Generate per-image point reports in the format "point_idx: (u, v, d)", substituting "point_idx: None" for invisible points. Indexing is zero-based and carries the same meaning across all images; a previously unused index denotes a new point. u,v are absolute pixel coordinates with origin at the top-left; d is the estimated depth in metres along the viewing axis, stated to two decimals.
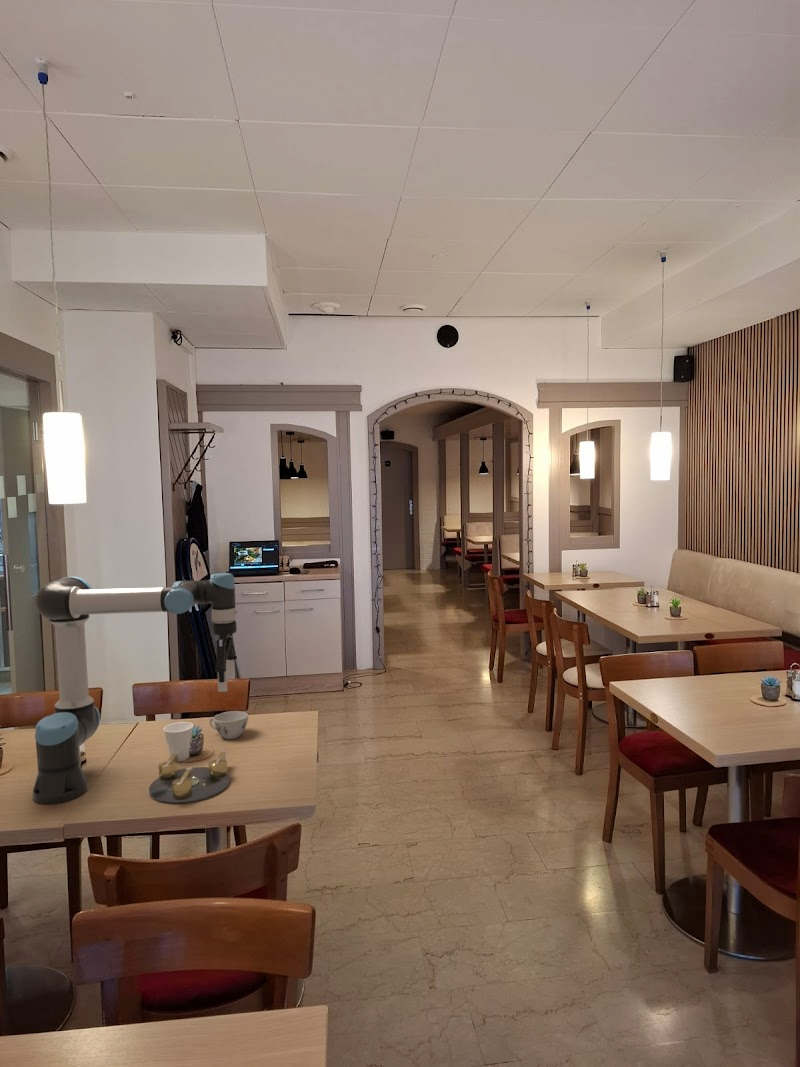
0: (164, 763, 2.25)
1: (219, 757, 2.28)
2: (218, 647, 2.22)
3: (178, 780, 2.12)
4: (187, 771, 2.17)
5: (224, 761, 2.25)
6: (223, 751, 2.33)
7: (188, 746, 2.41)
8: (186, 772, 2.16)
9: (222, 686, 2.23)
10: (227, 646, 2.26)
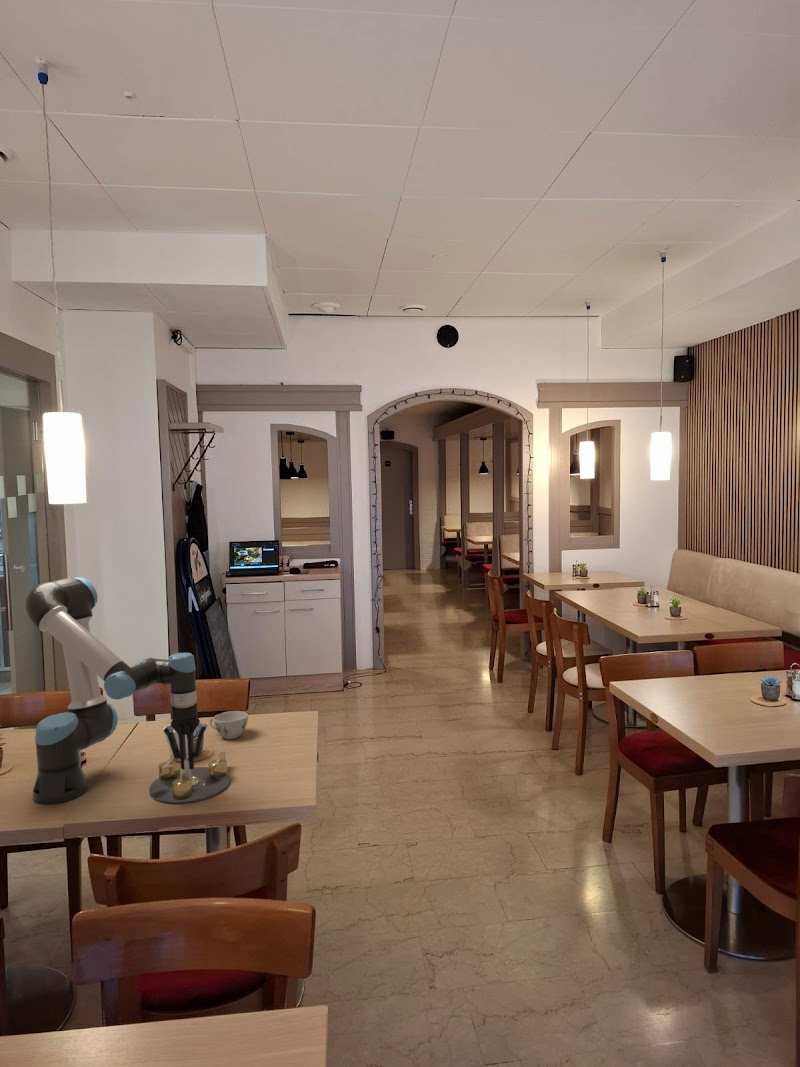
0: (164, 763, 2.25)
1: (219, 757, 2.28)
2: None
3: (177, 780, 2.11)
4: (182, 771, 2.17)
5: (224, 761, 2.25)
6: (223, 751, 2.33)
7: None
8: (182, 772, 2.16)
9: None
10: None
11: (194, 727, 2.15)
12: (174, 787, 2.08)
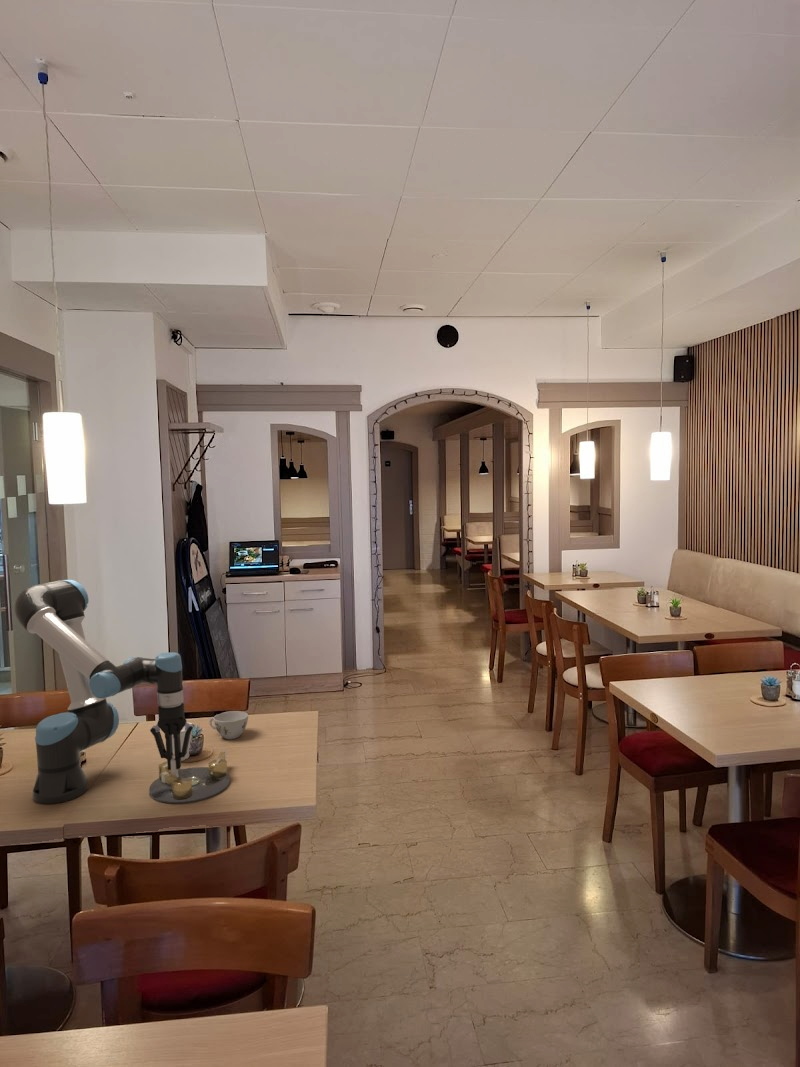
0: (164, 763, 2.25)
1: (219, 757, 2.28)
2: None
3: (175, 782, 2.10)
4: (169, 775, 2.15)
5: (224, 761, 2.25)
6: (223, 751, 2.33)
7: (188, 746, 2.41)
8: (170, 775, 2.14)
9: None
10: (165, 733, 2.14)
11: (181, 727, 2.15)
12: (179, 788, 2.08)
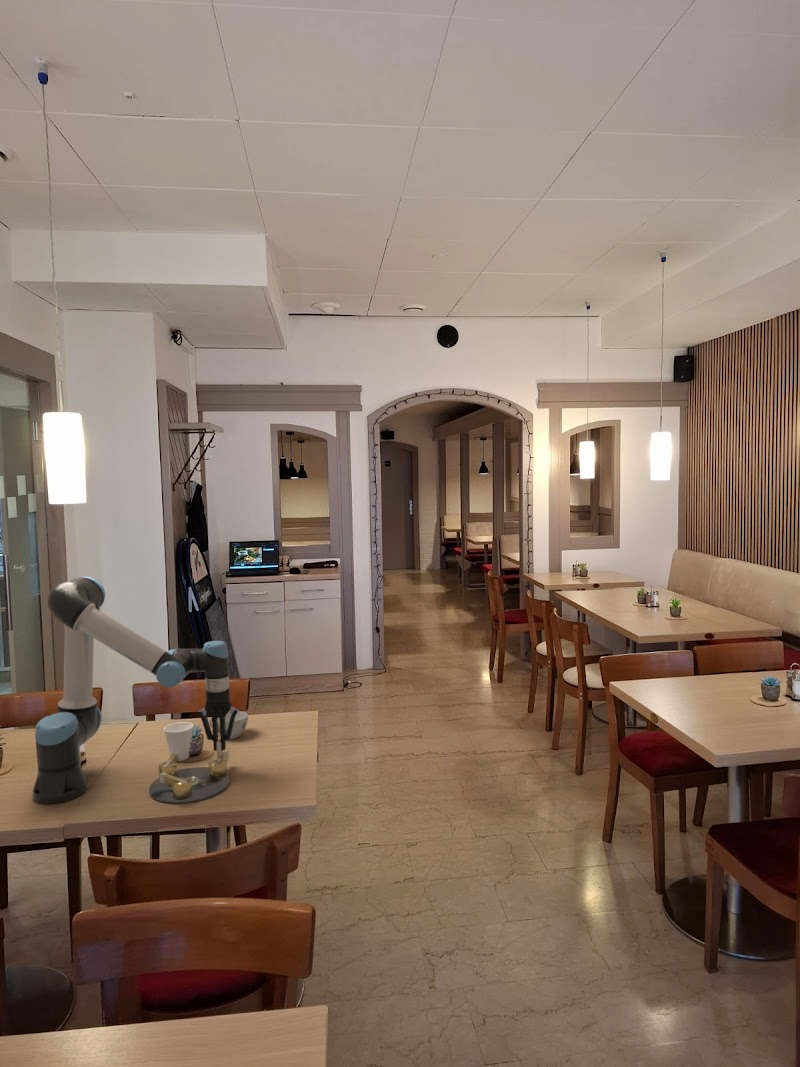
0: (164, 763, 2.25)
1: (220, 757, 2.28)
2: None
3: (175, 782, 2.10)
4: (167, 775, 2.14)
5: (224, 761, 2.25)
6: (226, 751, 2.32)
7: (188, 746, 2.41)
8: (169, 776, 2.14)
9: None
10: (211, 716, 2.28)
11: (226, 711, 2.29)
12: (180, 787, 2.08)
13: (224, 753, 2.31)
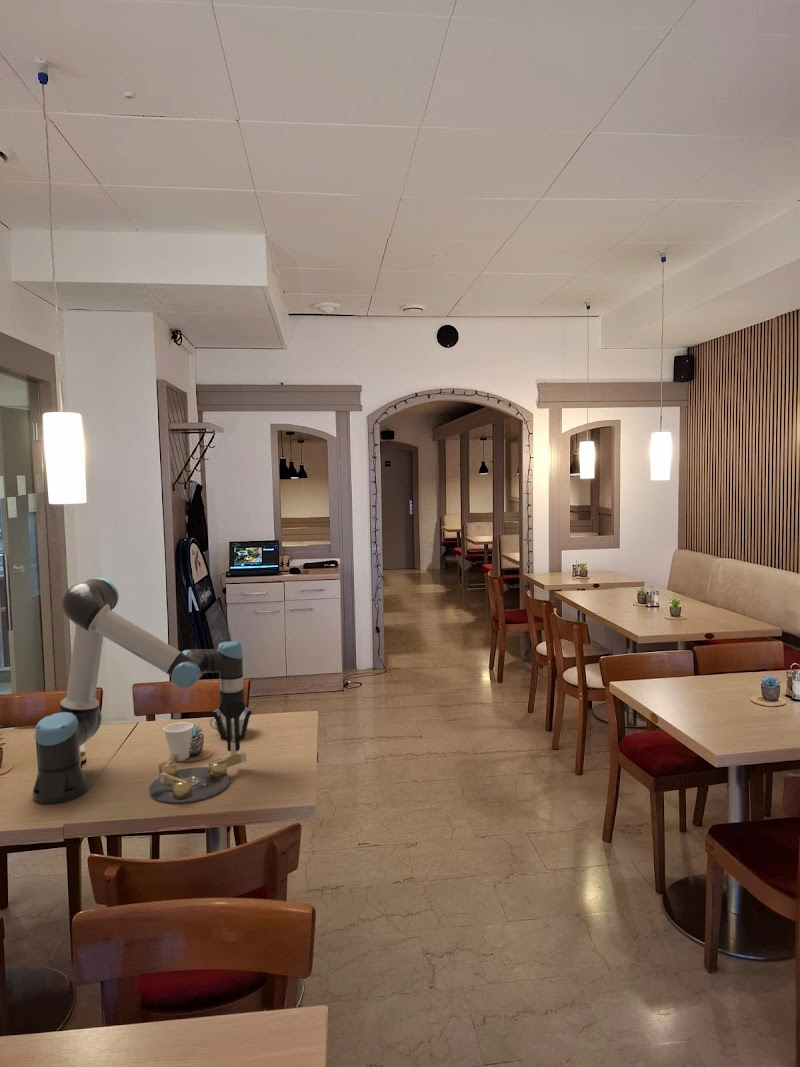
0: (164, 763, 2.25)
1: (226, 758, 2.27)
2: None
3: (175, 782, 2.10)
4: (167, 775, 2.14)
5: (223, 763, 2.23)
6: (240, 754, 2.30)
7: (188, 746, 2.41)
8: (169, 776, 2.14)
9: None
10: (226, 717, 2.29)
11: (241, 711, 2.29)
12: (180, 787, 2.08)
13: (235, 755, 2.29)
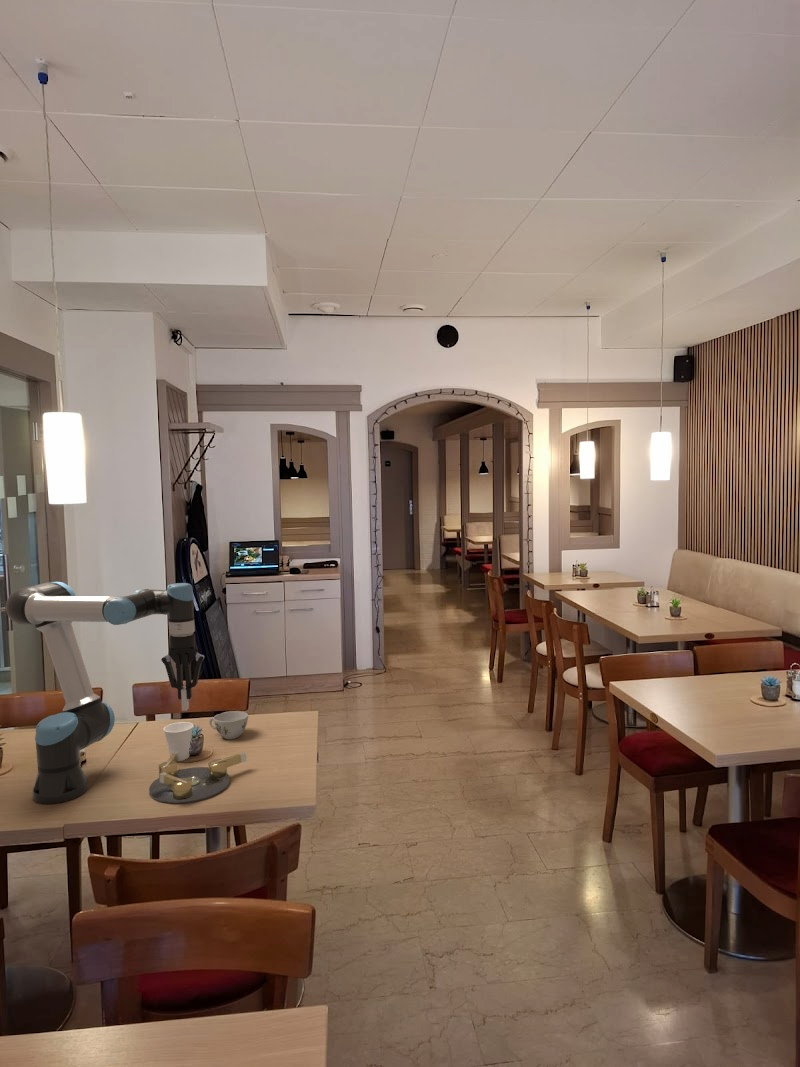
0: (164, 763, 2.25)
1: (226, 758, 2.27)
2: None
3: (175, 782, 2.10)
4: (167, 775, 2.14)
5: (223, 763, 2.23)
6: (240, 754, 2.30)
7: (188, 746, 2.41)
8: (169, 776, 2.14)
9: None
10: (176, 662, 2.15)
11: (192, 657, 2.16)
12: (180, 787, 2.08)
13: (235, 755, 2.29)
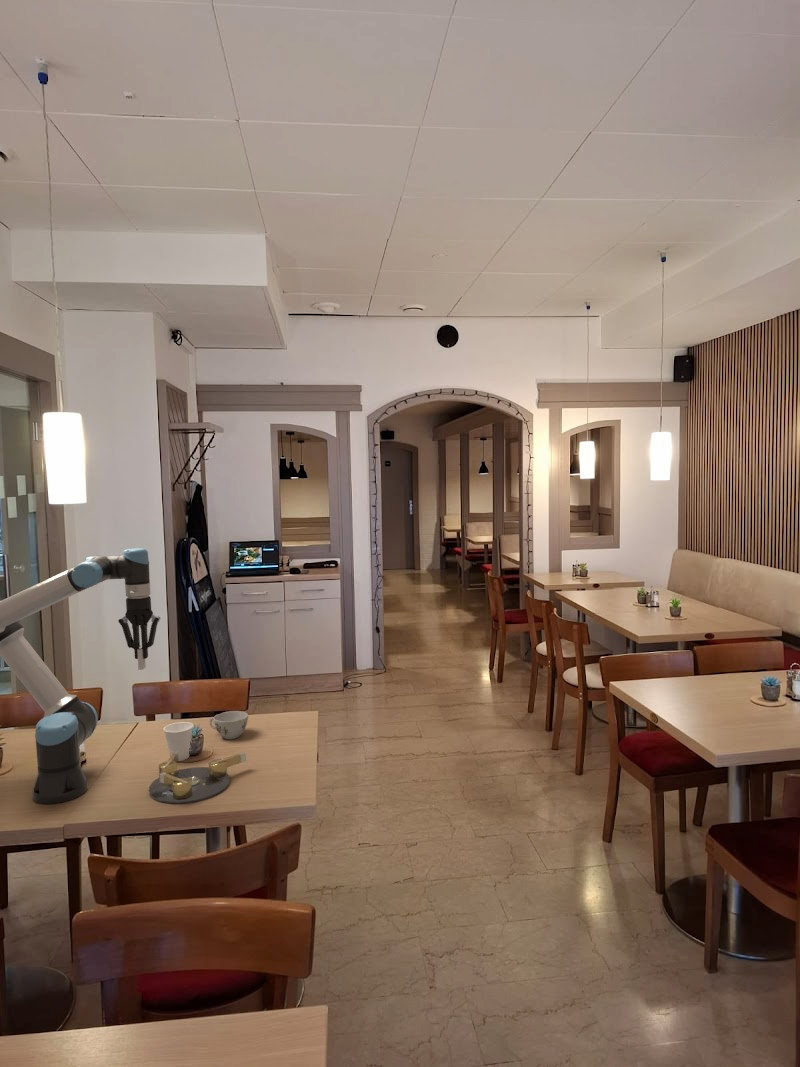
0: (164, 763, 2.25)
1: (226, 758, 2.27)
2: None
3: (175, 782, 2.10)
4: (167, 775, 2.14)
5: (223, 763, 2.23)
6: (240, 754, 2.30)
7: (188, 746, 2.41)
8: (169, 776, 2.14)
9: None
10: (132, 623, 2.27)
11: (147, 618, 2.27)
12: (180, 787, 2.08)
13: (235, 755, 2.29)
